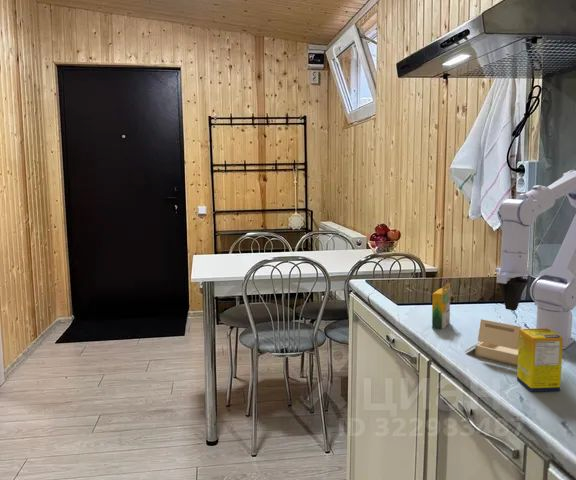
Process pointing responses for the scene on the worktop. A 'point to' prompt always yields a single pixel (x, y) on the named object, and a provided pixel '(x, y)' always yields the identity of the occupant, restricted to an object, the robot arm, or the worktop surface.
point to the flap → (499, 334)
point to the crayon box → (441, 307)
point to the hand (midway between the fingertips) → (511, 309)
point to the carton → (496, 353)
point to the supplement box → (539, 359)
